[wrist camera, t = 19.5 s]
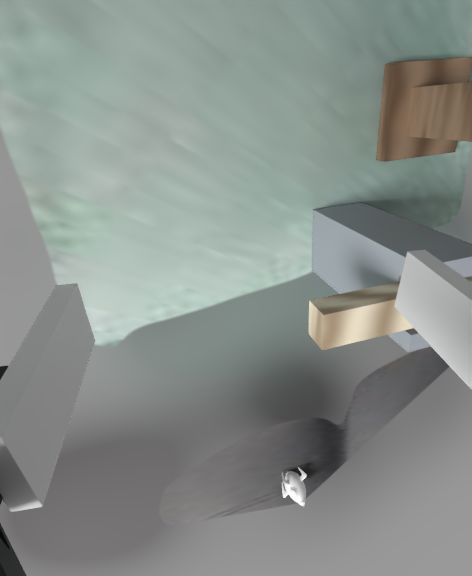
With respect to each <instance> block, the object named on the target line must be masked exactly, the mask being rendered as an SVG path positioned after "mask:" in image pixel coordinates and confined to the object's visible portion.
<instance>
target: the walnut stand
mask: <svg viewBox="0 0 472 576" xmlns="http://www.w3.org/2000/svg"><path fill="white" fill-rule="evenodd" d="M471 66H472V57H465V58H451V59H438V60H424V61H410V62H397V63H391V64H386V65H385V71H384V82H383V92H382V103H381V113H380V124H379V134H378V145H377V155H376V160H379V161H391V160H399V159H406V158H414V157H421V156H428V155H436V154H443V153H451V152H455V150H456V145H457V140H458V141H471V142H472V82H469V76H470V71H471Z"/></svg>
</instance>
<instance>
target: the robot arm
mask: <svg viewBox="0 0 472 576" xmlns="http://www.w3.org/2000/svg"><path fill="white" fill-rule="evenodd" d="M394 307H395V308H396V309H397V310H398V311H399V312H400V314H401V315H402V316H403V317H404V318H405V319H406V320H407V321H408V322H409V323H410V324H411V325H412V326H413V327H414V329H415V330H416V331H417V332H418V333H419V334H420V335H421V336H422V337H423V338H424V339H425V340H426V341H427V342H428V344H429V345H430V346H431V347H432V348H433V349H434V350H435V351H436V352H437V353H438V354H439V355H440V356H441V357H442V359H443V360H444V361H445V362H446V363H447V364H448V365H449V366H450V367H451V368H452V369H453V370H454V371H455V372H456V373H457V375H458V376H459V377H461V379H462V380H463V381H464V382H465V383H466V384H467V385H468V386H469V387H470V388H471V389H472V283H471V282H470V281H469V280H467V279H466V278H464V277H463V276H461V275H460V274H459V273H457V272H456V271H454V270H453V269H452V268H450V267H449V266H447V265H446V264H444V263H443V262H442V261H440V260H439V259H437V258H436V257H435V256H433V255H432V254H430V253H429V252H427V251H426V250H416V251H407V255H406V259H405V263H404V267H403V272H402V276H401V280H400V284H399V288H398V292H397V297H396V301H395V305H394ZM94 342H95V339H94V336H93V333H92V330H91V326H90V323H89V320H88V317H87V314H86V310H85V307H84V304H83V301H82V298H81V294H80V291H79V288H78V285H77V283H76V284H66V285H56V286H55V288H54V289H53V291H52V293H51V294H50V296H49V298H48V300H47V301H46V303H45V305H44V306H43V308H42V310H41V312H40V313H39V315H38V317H37V318H36V320H35V322H34V323H33V325H32V327H31V329H30V330H29V332H28V334H27V335H26V337H25V339H24V341H23V342H22V344H21V346H20V347H19V349H18V351H17V353H16V354H15V356H14V358H13V360H12V361H11V363H10V365H9V366H1V367H0V504H1V502H2V500H3V501H4V502H5V504H6V505H7V507H8V508H9V510H10V511H11V512H12V511H19V510H25V509H31V508H37V507H43V504H44V501H45V497H46V494H47V491H48V488H49V485H50V482H51V479H52V475H53V472H54V469H55V466H56V463H57V460H58V456H59V453H60V450H61V447H62V444H63V441H64V437H65V434H66V431H67V428H68V425H69V421H70V418H71V415H72V412H73V408H74V406H75V402H76V399H77V396H78V392H79V390H80V387H81V383H82V380H83V377H84V374H85V371H86V367H87V364H88V361H89V358H90V355H91V351H92V348H93V345H94ZM0 576H26V574H25V572H24V570H23V568H22V566H21V564H20V562H19V560H18V558H17V556H16V554H15V552H14V550H13V548H12V546H11V544H10V542H9V540H8V538H7V536H6V534H5V532H4V530H3V528H2V526H1V524H0Z"/></svg>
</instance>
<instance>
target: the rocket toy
mask: <svg viewBox="0 0 472 576" xmlns="http://www.w3.org/2000/svg"><path fill="white" fill-rule="evenodd" d="M298 469H299V470H300V472H301V473H302V475H301V476H299V475H298V474H297V473H295V472H293V471H289V472H287V473H286V476H285V478H284V475H283V472H282V480H283V483H284V485H285V489H286V491H285V490H284V486H283V483H282V493H283V498H285V497H286V496H287V495H288V494H289V496H290V497H291V498H292V499H293V500H294V501H296V502H297V503H299V504H300V506H304V505H305V498H306V489H305V484H304V482H303V480H304V479H305V478H306V476H307V474H306V473H305V472H304V471H303V470H301V469H300V468H299V467H298Z"/></svg>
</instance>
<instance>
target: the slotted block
mask: <svg viewBox="0 0 472 576" xmlns="http://www.w3.org/2000/svg"><path fill="white" fill-rule="evenodd" d="M416 250H426V251H427V252H429V253H430V254H432V255H433V256H435V257H436V258H437V259H439V260H440V261H442V262H443V263H444V264H446V265H447V266H449V267H450V268H452V269H453V270H454V271H456V272H457V273H459V274H460V275H461V276H463V277H464V278H465V277H469V276H472V244H470V243H468V242H465V241H462V240H460V239H457V238H454V237H452V236H449V235H446V234H444V233H441V232H438V231H436V230H433V229H430V228H428V227H425V226H422V225H420V224H417V223H415V222H412V221H409V220H407V219H404V218H401V217H399V216H396V215H393V214H391V213H388V212H385V211H383V210H380V209H377V208H375V207H372V206H369V205H367V204H364V203H362V202H359V203H352V204H346V205H340V206H333V207H327V208H321V209H314V210H313V242H312V271H314V272H315V273H316V274H317V275H318V276H319V277H321V278H322V279H323V280H324V281H325V282H327V283H328V284H329V285H330V286H331V287H332V288H333V289H335V290H336V291H337V292H338V293H339V294H342V293H347V292H352V291H356V290H361V289H366V288H371V287H375V286H380V285H385V284H390V283H394V282H399V281H400V280H401V276H402V272H403V267H404V263H405V259H406V255H407V251H416ZM387 335H388V336H390V337H391V338H392V339H393V340H394V341H395V342H397V343H398V344H399V345H400V346H401V347H403V348H404V349H405V350H406V351H407V352H411V351H415V350H419V349H423V348H426V347H430V345H429V344H428V342H427V341H426V340H425V339H424V338H423V337H422V336H421V335H420V334H419V333H418V332H417V331H416V330H415V329H414V328H412V329H408V330H404V331H400V332H396V333H392V334H387Z"/></svg>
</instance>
